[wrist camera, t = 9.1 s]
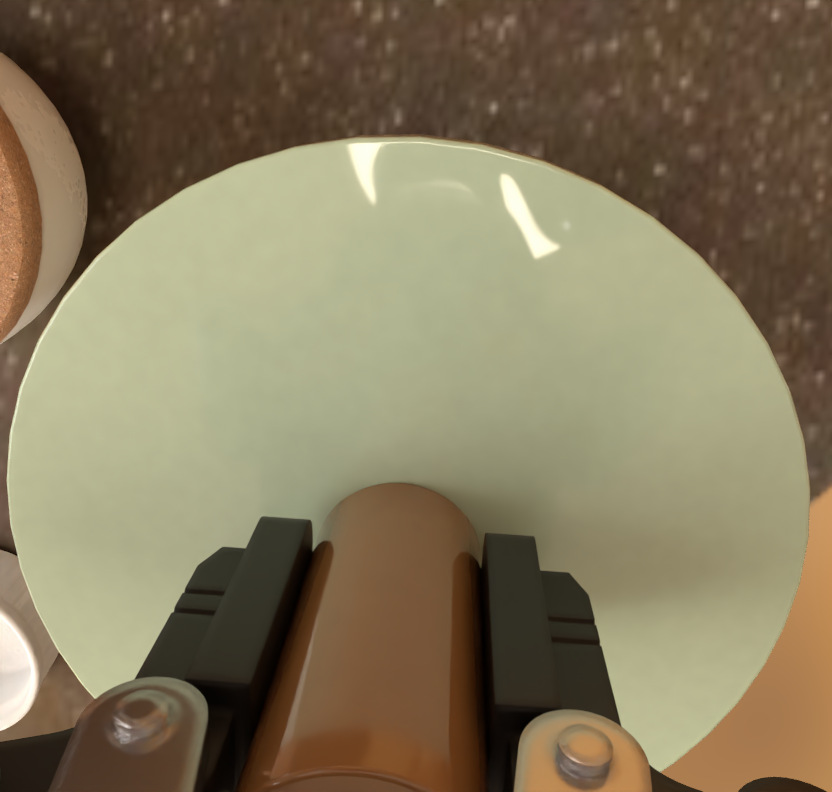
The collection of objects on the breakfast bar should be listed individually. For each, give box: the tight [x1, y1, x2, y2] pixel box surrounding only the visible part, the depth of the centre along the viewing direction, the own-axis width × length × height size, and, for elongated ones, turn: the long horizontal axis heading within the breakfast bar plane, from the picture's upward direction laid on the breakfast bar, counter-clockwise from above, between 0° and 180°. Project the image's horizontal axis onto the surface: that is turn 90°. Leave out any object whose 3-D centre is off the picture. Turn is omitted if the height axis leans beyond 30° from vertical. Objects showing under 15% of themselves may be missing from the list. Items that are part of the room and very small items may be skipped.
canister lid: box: [7, 134, 810, 792], centre depth 10 cm, size 13×13×7 cm
